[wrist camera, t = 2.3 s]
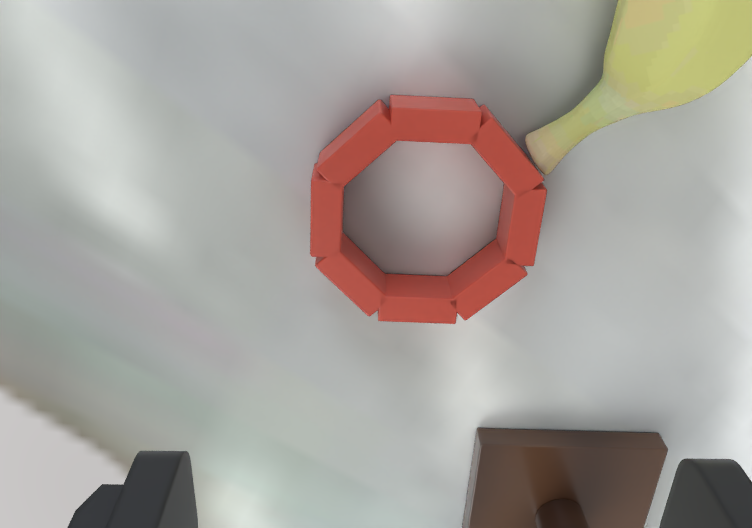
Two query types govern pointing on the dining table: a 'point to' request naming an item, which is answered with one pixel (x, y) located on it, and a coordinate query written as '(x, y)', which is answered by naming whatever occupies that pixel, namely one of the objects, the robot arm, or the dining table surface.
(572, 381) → the dining table surface
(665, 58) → the banana
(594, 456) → the peg stand
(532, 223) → the ring
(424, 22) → the dining table surface
